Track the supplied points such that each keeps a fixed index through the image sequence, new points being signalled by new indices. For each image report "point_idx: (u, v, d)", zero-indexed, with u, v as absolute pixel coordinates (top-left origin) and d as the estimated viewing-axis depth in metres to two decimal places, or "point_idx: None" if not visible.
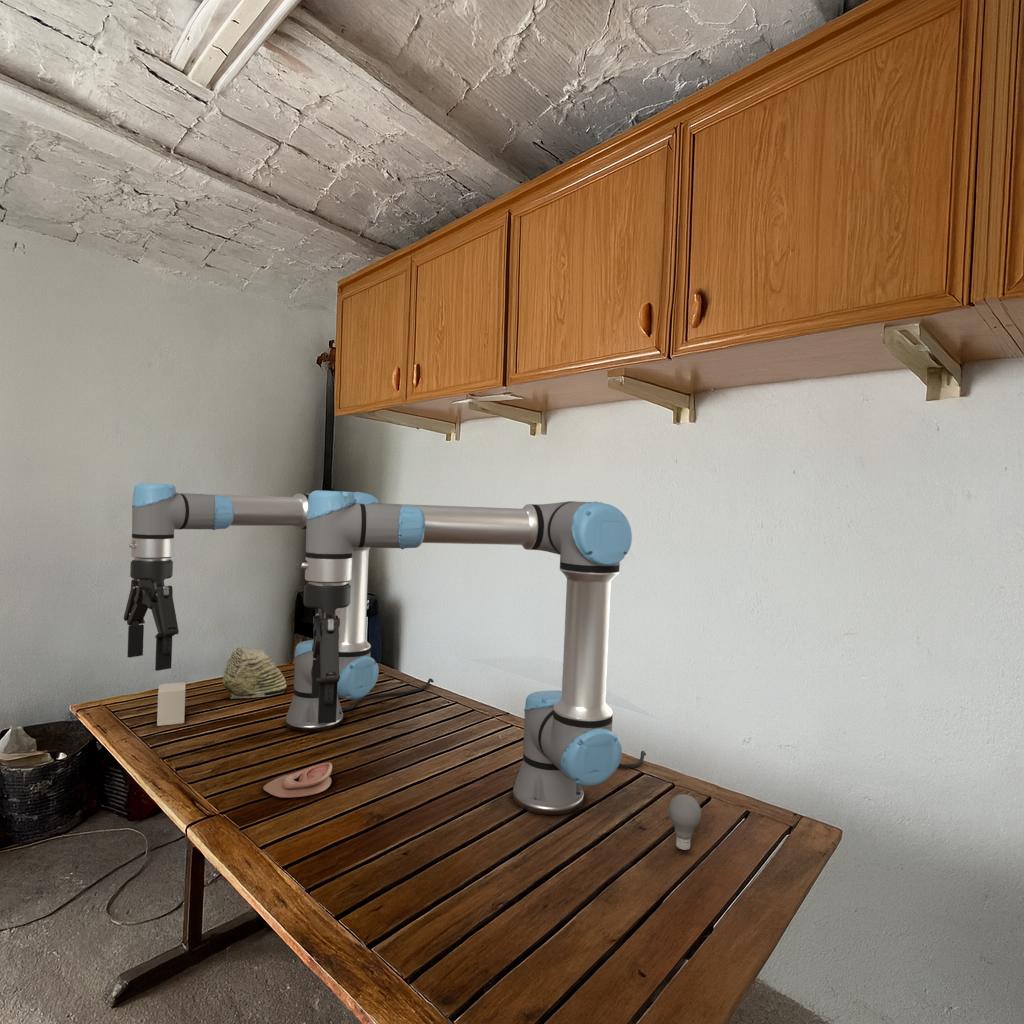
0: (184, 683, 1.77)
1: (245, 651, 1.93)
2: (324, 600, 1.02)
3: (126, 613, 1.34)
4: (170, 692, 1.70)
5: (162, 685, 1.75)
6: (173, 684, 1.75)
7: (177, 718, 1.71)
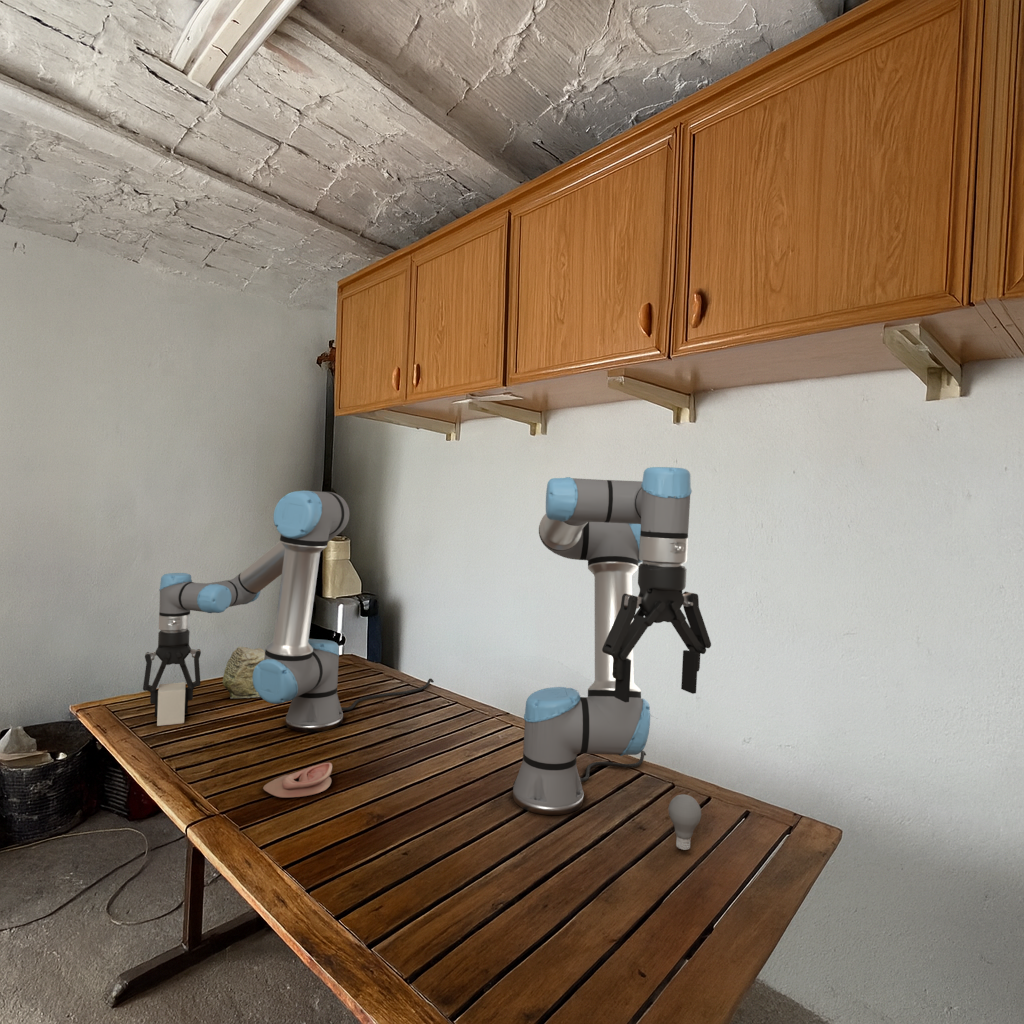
0: (184, 683, 1.77)
1: (245, 651, 1.93)
2: None
3: (145, 684, 1.70)
4: (170, 692, 1.70)
5: (162, 685, 1.75)
6: (173, 684, 1.75)
7: (177, 718, 1.71)
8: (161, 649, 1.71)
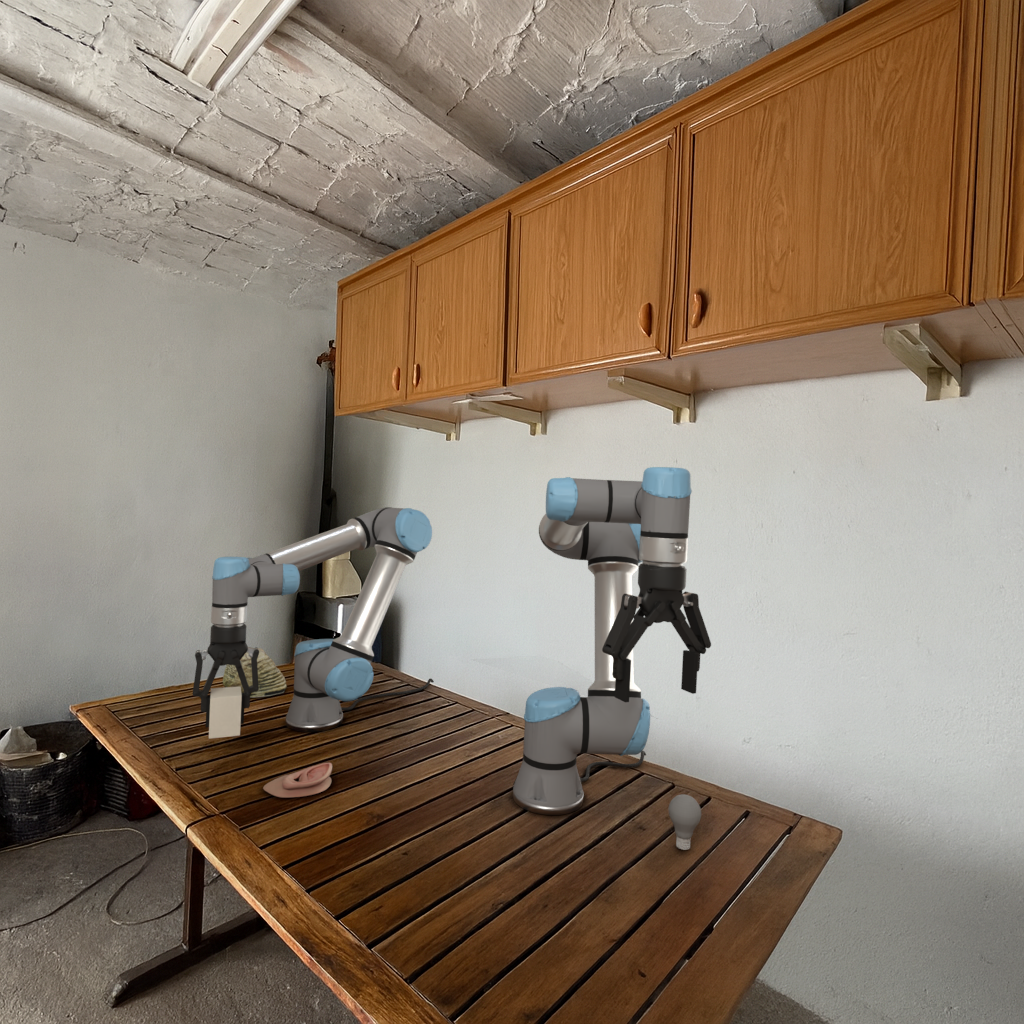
0: (239, 687, 1.50)
1: None
2: None
3: (196, 688, 1.42)
4: (224, 698, 1.43)
5: (214, 690, 1.47)
6: (227, 689, 1.48)
7: (232, 729, 1.43)
8: (214, 647, 1.44)
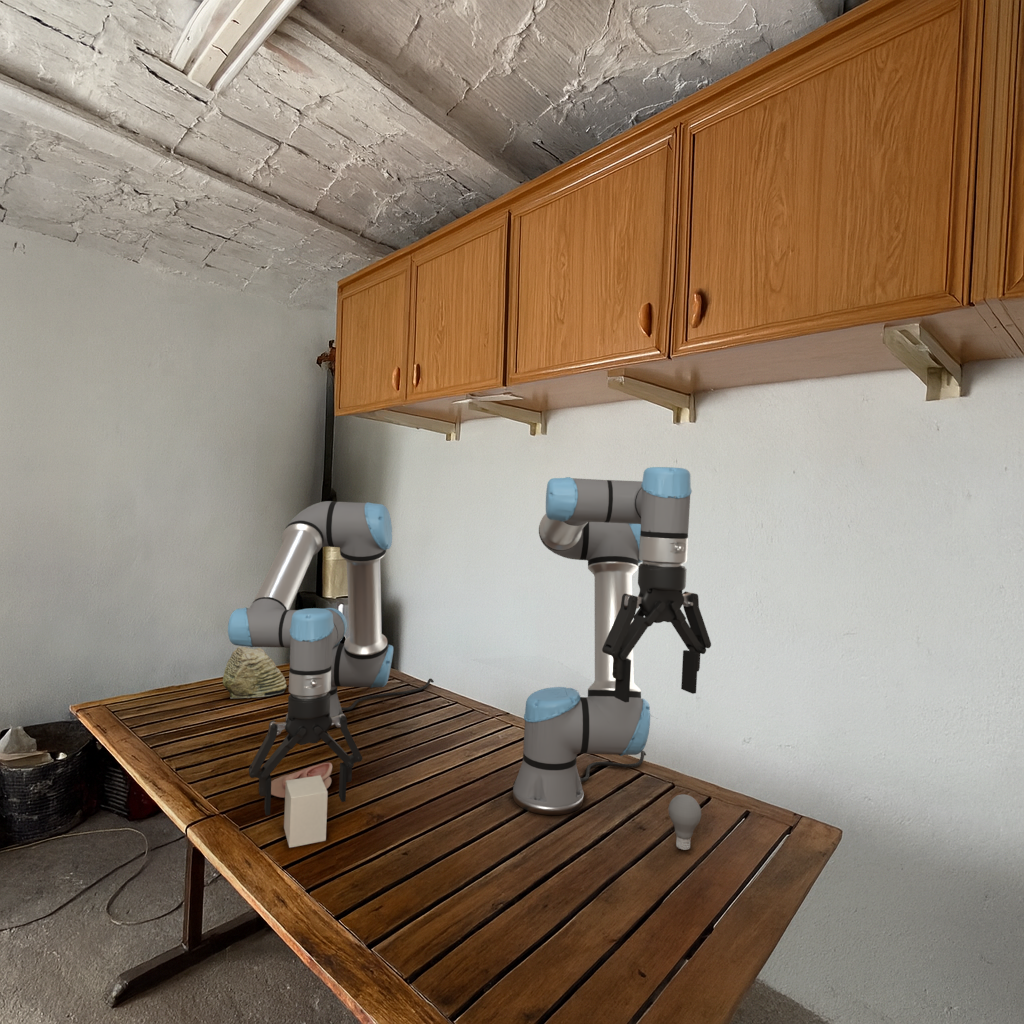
0: (320, 778, 1.22)
1: (245, 651, 1.93)
2: None
3: (256, 768, 1.13)
4: (307, 797, 1.15)
5: (291, 783, 1.20)
6: (306, 781, 1.21)
7: (316, 834, 1.16)
8: (293, 723, 1.16)
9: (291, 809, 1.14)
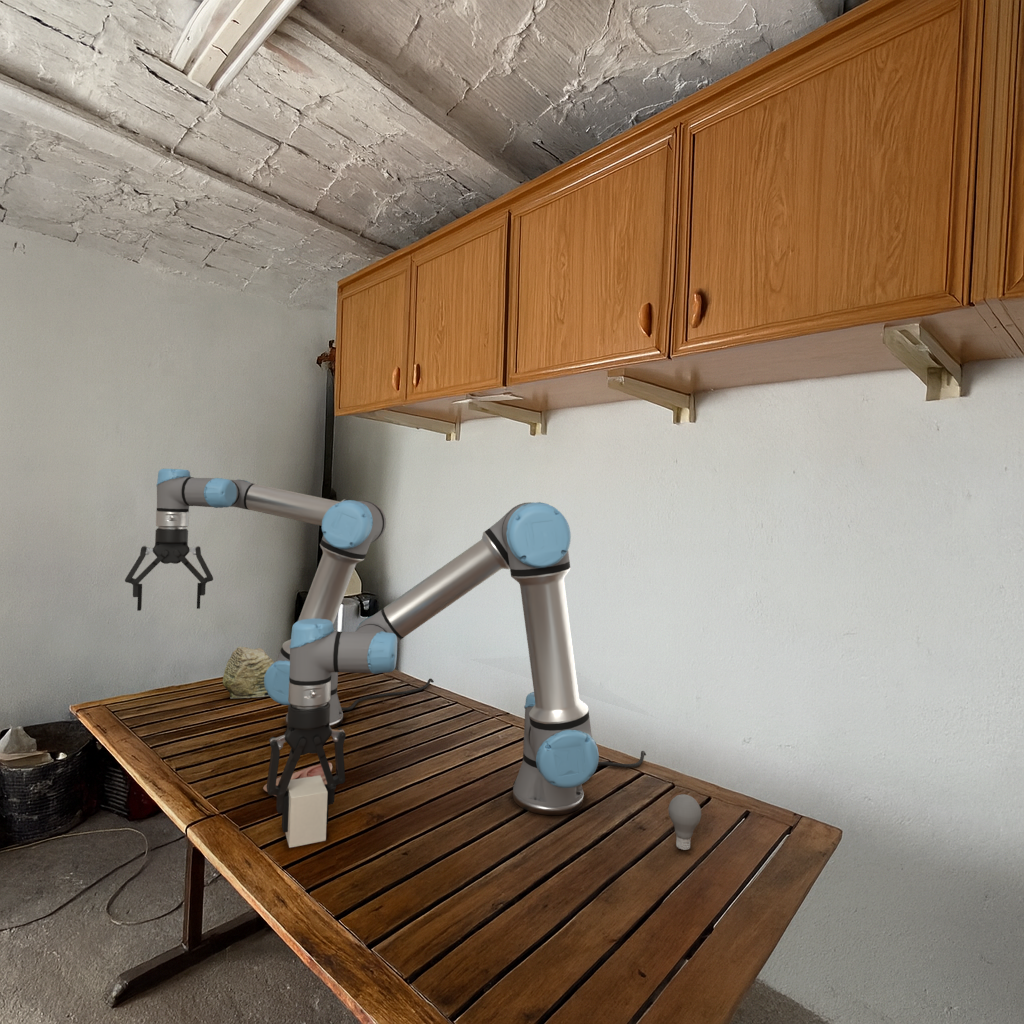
0: (320, 778, 1.22)
1: (245, 651, 1.93)
2: (329, 714, 1.19)
3: (130, 575, 1.61)
4: (307, 797, 1.15)
5: (291, 783, 1.20)
6: (306, 781, 1.21)
7: (316, 834, 1.16)
8: (158, 547, 1.63)
9: (291, 809, 1.14)
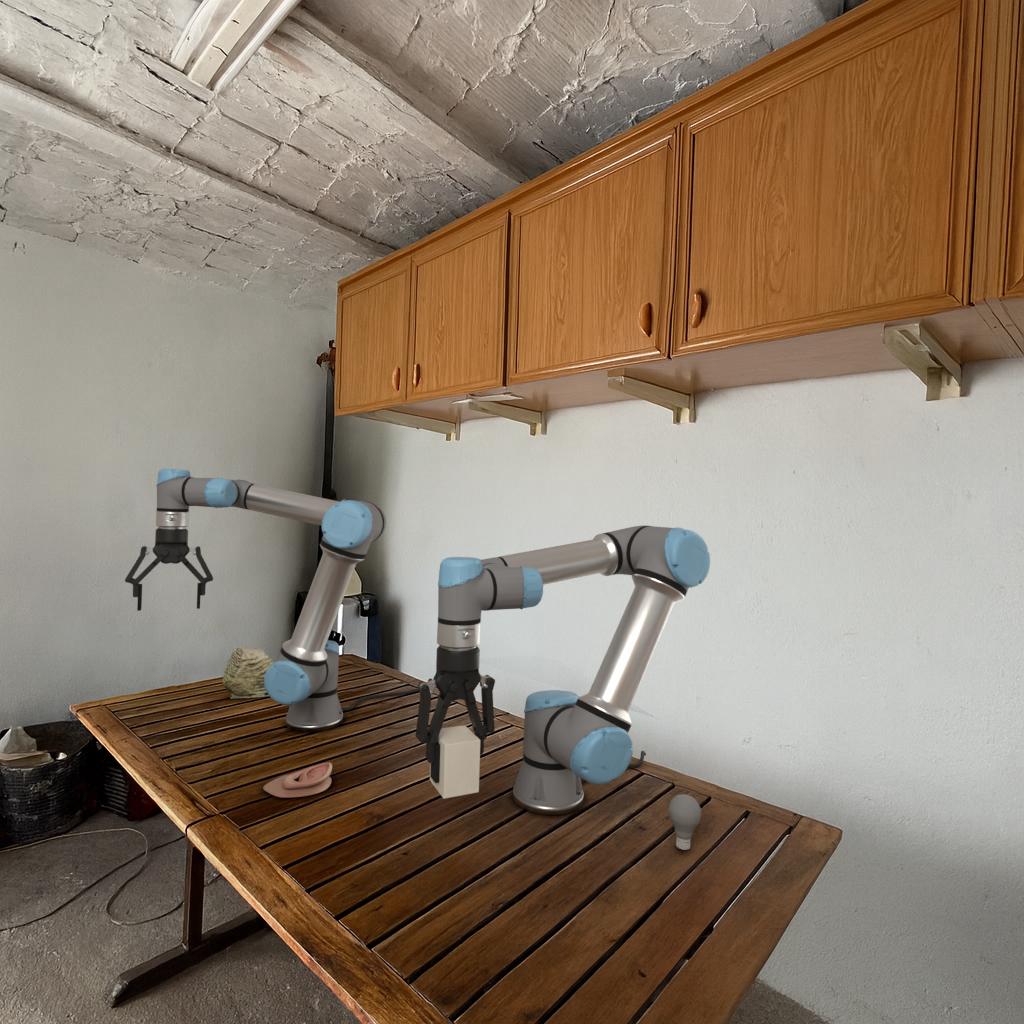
0: (465, 727, 1.15)
1: (245, 651, 1.93)
2: (479, 658, 1.12)
3: (130, 575, 1.61)
4: (461, 745, 1.08)
5: None
6: (453, 730, 1.13)
7: (470, 785, 1.09)
8: (158, 547, 1.63)
9: (445, 757, 1.07)
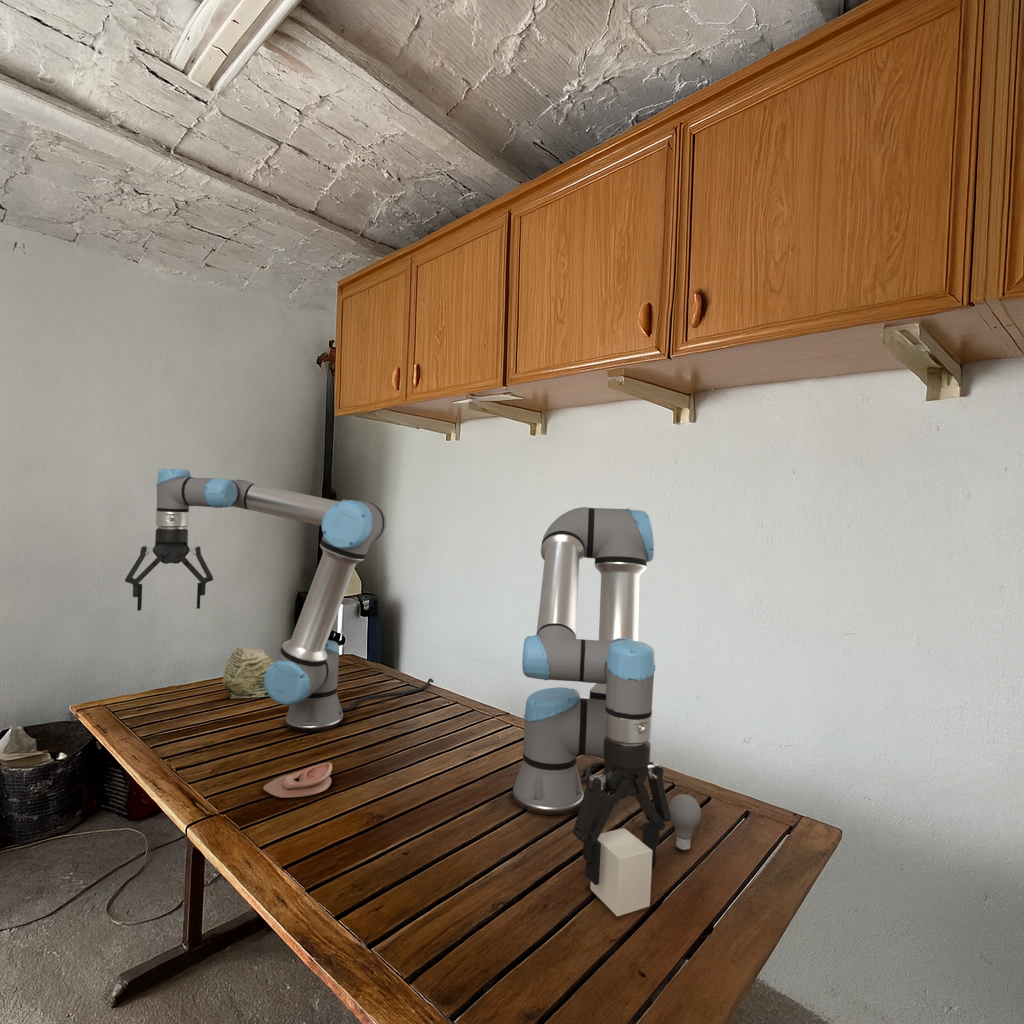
0: (627, 831, 1.07)
1: (245, 651, 1.93)
2: None
3: (130, 575, 1.61)
4: (634, 857, 1.00)
5: (601, 838, 1.05)
6: (617, 836, 1.06)
7: (642, 899, 1.01)
8: (158, 547, 1.63)
9: (619, 872, 0.99)
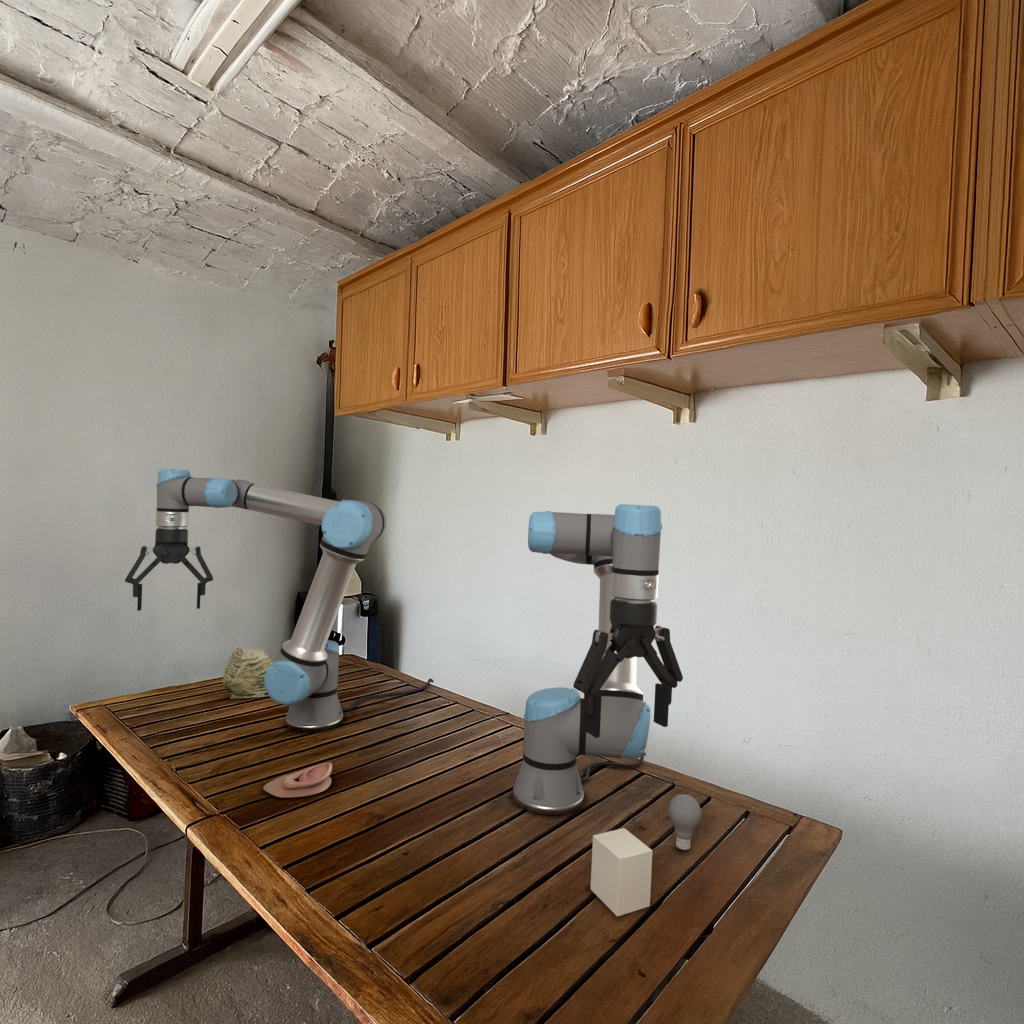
0: (627, 831, 1.07)
1: (245, 651, 1.93)
2: None
3: (130, 575, 1.61)
4: (634, 857, 1.00)
5: (601, 838, 1.05)
6: (617, 836, 1.06)
7: (642, 899, 1.01)
8: (158, 547, 1.63)
9: (619, 872, 0.99)
